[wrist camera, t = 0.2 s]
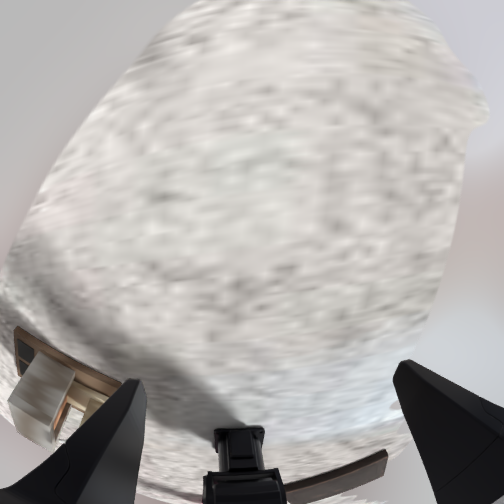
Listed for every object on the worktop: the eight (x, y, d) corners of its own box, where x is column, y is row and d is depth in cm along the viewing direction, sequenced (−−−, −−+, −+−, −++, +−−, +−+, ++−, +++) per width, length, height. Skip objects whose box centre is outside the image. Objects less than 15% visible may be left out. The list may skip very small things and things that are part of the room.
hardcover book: (380, 469, 46) (383, 475, 44) (292, 499, 46) (294, 506, 44) (384, 447, 40) (388, 455, 38) (276, 484, 41) (278, 493, 38)
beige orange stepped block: (112, 399, 25) (89, 478, 15) (107, 416, 26) (88, 487, 16) (38, 360, 23) (-1, 428, 12) (39, 381, 24) (7, 444, 14)
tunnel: (121, 383, 26) (102, 449, 17) (110, 418, 28) (96, 474, 19) (17, 326, 22) (-23, 375, 14) (20, 370, 25) (-8, 416, 16)
